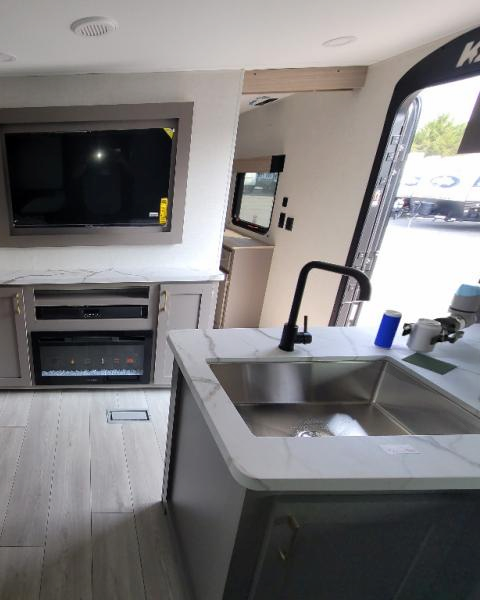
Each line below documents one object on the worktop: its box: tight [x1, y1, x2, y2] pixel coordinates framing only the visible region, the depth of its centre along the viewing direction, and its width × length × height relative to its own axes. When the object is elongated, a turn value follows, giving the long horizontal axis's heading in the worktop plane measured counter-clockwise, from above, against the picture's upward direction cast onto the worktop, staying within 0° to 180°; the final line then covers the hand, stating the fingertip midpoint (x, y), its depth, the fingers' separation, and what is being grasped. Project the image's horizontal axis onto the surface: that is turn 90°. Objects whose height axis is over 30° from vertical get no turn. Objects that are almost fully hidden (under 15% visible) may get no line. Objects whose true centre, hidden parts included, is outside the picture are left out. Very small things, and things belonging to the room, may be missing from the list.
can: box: [405, 317, 442, 354], centre depth 124 cm, size 8×8×12 cm
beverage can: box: [373, 309, 403, 350], centre depth 128 cm, size 5×5×15 cm
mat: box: [401, 351, 458, 375], centre depth 118 cm, size 11×11×1 cm
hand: (417, 337), depth 122 cm, fingers closed on can, 7 cm apart
